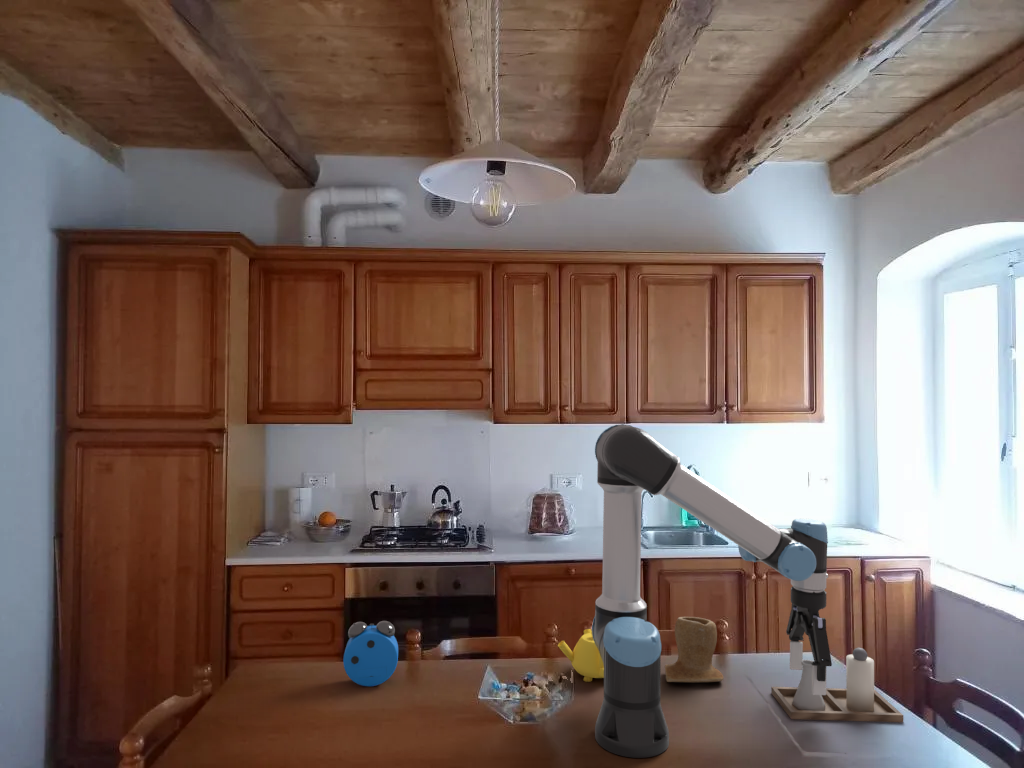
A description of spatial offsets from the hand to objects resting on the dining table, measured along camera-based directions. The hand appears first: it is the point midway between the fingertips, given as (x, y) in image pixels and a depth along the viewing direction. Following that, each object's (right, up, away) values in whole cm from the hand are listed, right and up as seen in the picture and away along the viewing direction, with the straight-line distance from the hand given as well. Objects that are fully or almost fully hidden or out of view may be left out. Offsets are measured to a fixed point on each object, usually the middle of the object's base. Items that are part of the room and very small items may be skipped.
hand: (807, 681), depth 155 cm
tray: (+6, -6, 0) cm, 9 cm away
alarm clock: (-102, -6, +13) cm, 103 cm away
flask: (0, -6, 0) cm, 6 cm away
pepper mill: (+12, -6, -1) cm, 13 cm away
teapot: (-47, -7, +19) cm, 51 cm away
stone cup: (-22, -7, +17) cm, 29 cm away
